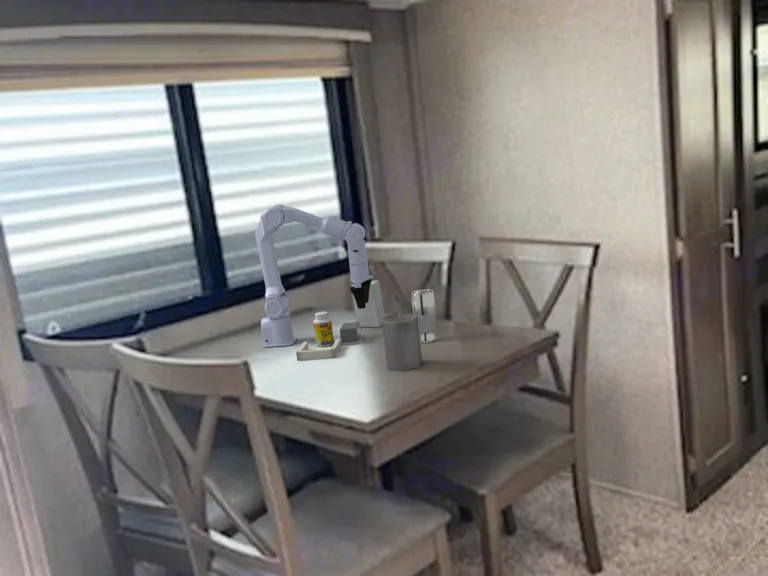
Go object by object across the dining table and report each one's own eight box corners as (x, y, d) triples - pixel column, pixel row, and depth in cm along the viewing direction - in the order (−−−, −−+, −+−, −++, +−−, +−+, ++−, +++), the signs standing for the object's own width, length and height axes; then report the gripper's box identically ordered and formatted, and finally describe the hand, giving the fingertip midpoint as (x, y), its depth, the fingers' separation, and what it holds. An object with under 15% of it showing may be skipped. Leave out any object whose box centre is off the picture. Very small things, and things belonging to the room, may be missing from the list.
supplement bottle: (321, 348, 237) (317, 316, 235) (313, 345, 241) (309, 313, 239) (337, 344, 240) (333, 312, 238) (328, 341, 244) (324, 309, 242)
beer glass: (413, 343, 230) (408, 294, 228) (418, 337, 237) (413, 289, 234) (436, 343, 229) (431, 293, 226) (440, 336, 235) (435, 288, 232)
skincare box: (385, 323, 260) (380, 279, 257) (378, 327, 254) (373, 283, 251) (363, 323, 263) (358, 280, 260) (355, 327, 258) (350, 284, 255)
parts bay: (297, 360, 226) (296, 352, 226) (304, 349, 237) (303, 341, 237) (335, 357, 225) (334, 349, 225) (341, 346, 236) (340, 339, 236)
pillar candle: (394, 359, 216) (388, 308, 213) (427, 360, 213) (421, 307, 210) (382, 371, 208) (375, 317, 205) (416, 371, 204) (409, 316, 201)
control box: (339, 346, 237) (337, 330, 236) (344, 337, 247) (342, 322, 246) (358, 344, 237) (357, 328, 236) (362, 336, 246) (361, 320, 245)
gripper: (368, 266, 233) (373, 309, 236) (373, 258, 247) (378, 299, 250) (345, 268, 234) (350, 311, 236) (352, 260, 248) (356, 301, 251)
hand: (363, 305), depth 243 cm, fingers open, 7 cm apart
